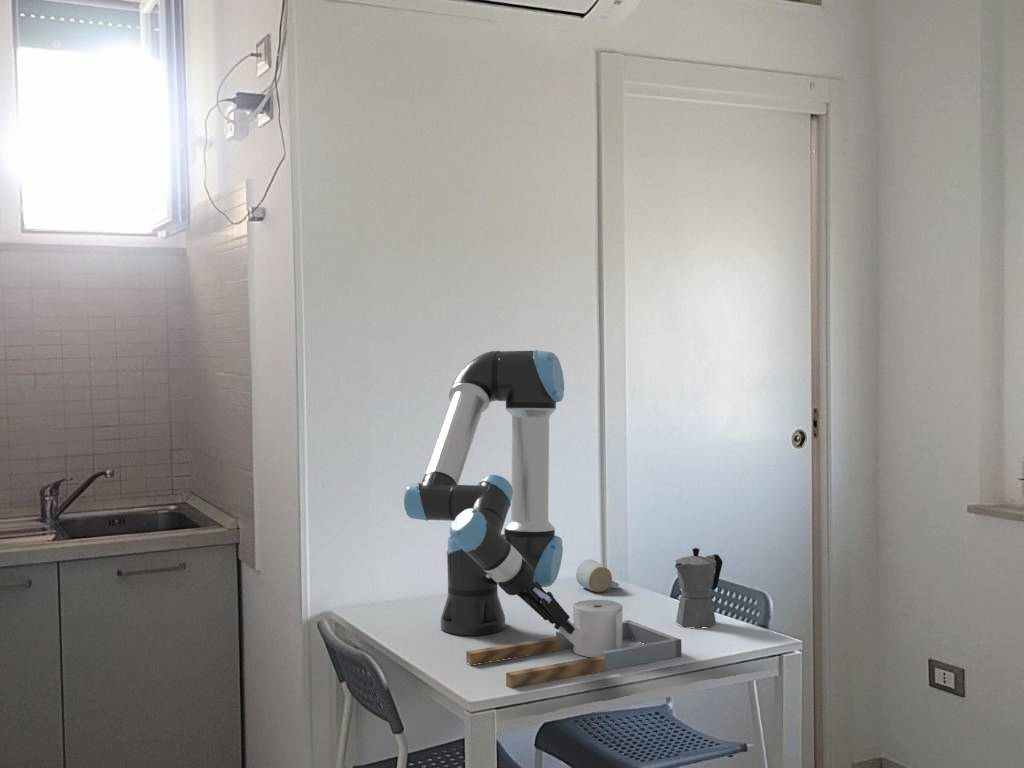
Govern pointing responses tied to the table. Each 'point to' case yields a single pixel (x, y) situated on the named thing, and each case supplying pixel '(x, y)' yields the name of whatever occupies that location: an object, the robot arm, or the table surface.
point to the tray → (637, 646)
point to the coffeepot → (697, 589)
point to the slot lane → (536, 673)
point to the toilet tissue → (598, 626)
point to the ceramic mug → (594, 576)
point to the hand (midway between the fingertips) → (578, 639)
